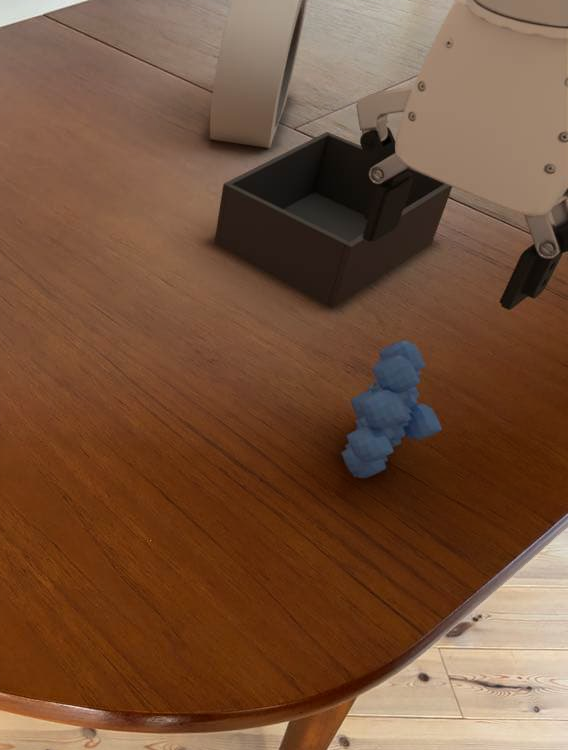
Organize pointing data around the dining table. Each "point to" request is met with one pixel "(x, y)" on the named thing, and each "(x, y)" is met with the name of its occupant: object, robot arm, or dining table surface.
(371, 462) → the grapes
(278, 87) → the alarm clock
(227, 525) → the dining table surface
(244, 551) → the dining table surface
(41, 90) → the dining table surface
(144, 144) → the dining table surface
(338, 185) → the basket
